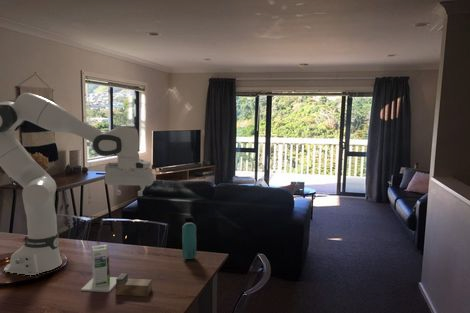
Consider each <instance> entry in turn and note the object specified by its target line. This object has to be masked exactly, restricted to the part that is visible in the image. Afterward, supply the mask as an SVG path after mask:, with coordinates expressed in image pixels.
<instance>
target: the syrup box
mask: <svg viewBox="0 0 470 313" xmlns="http://www.w3.org/2000/svg"><path fill="white" fill-rule="evenodd" d="M91 264H92V266H91V267H92V278H93V283H94V287H98V286H104V285H110V277H111V275H110V274H111V273H110V272H111V271H110V249H109V246H108V244H107V243H106V244H100V245H92V246H91Z"/></svg>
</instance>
